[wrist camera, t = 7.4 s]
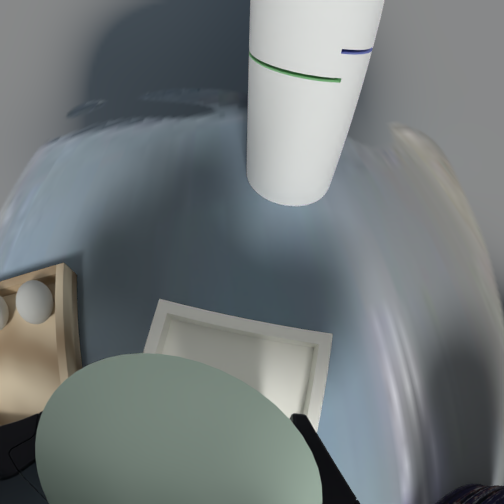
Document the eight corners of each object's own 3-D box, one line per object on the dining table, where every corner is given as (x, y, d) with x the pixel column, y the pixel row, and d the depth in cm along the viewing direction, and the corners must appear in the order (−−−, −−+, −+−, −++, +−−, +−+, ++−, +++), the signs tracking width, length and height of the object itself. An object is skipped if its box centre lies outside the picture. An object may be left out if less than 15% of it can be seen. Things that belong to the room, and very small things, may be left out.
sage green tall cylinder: (283, 432, 12) (378, 509, 2) (211, 479, 11) (153, 609, 1) (229, 366, 14) (192, 294, 4) (158, 412, 12) (1, 420, 3)
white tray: (286, 515, 11) (291, 528, 9) (126, 478, 12) (114, 485, 10) (323, 340, 17) (332, 333, 15) (167, 308, 17) (159, 298, 16)
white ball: (67, 302, 16) (44, 286, 14) (48, 337, 15) (22, 325, 12) (45, 283, 17) (22, 265, 14) (26, 315, 16) (2, 301, 13)
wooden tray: (96, 439, 13) (81, 442, 11) (3, 432, 11) (-13, 431, 10) (76, 274, 18) (63, 262, 16) (-5, 296, 17) (-19, 287, 15)
